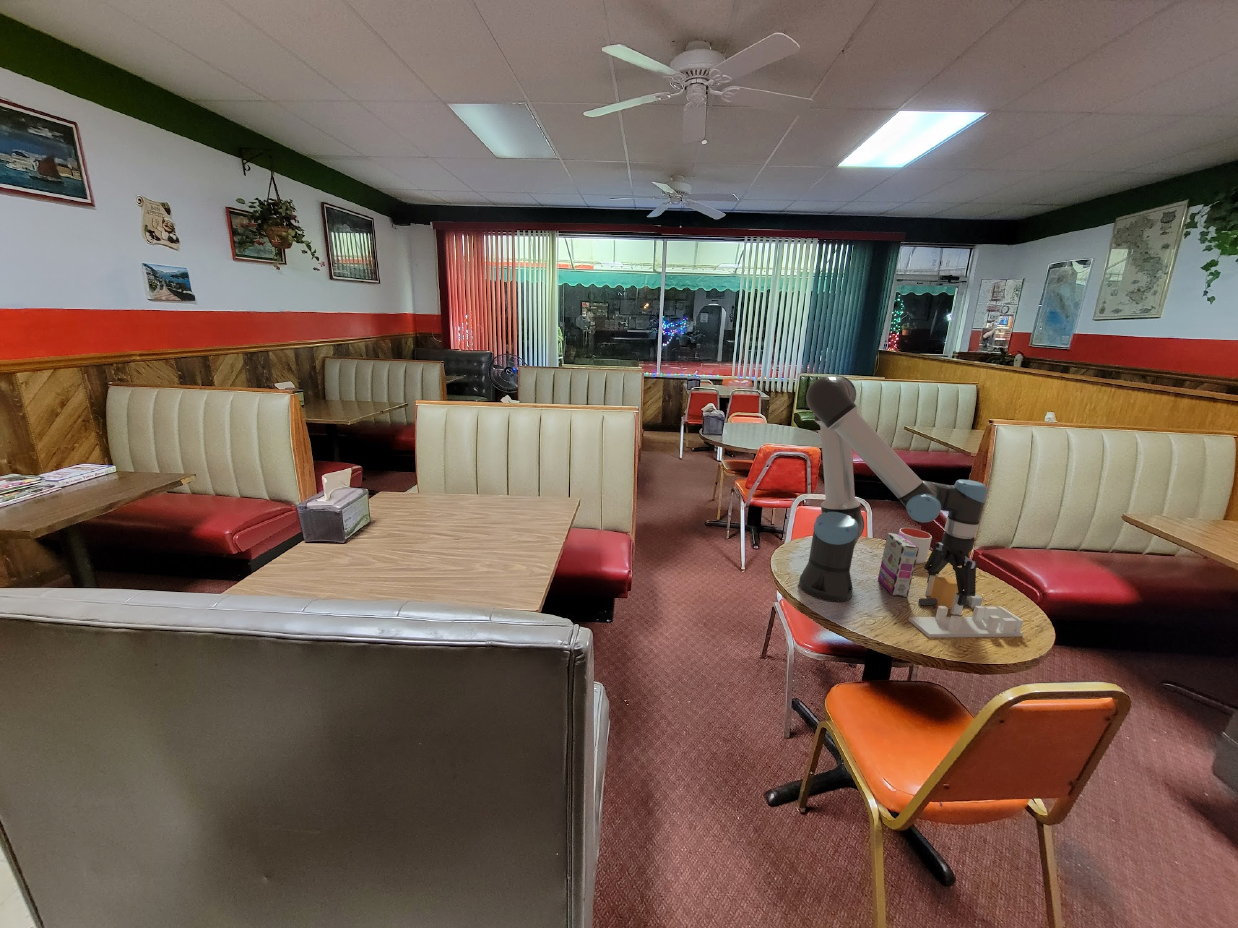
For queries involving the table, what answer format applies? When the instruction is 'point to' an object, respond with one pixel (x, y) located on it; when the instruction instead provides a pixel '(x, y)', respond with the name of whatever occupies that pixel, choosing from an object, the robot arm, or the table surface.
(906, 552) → the candy bar box
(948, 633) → the clip rail
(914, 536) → the cup
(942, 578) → the orange block with rod
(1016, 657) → the table surface
